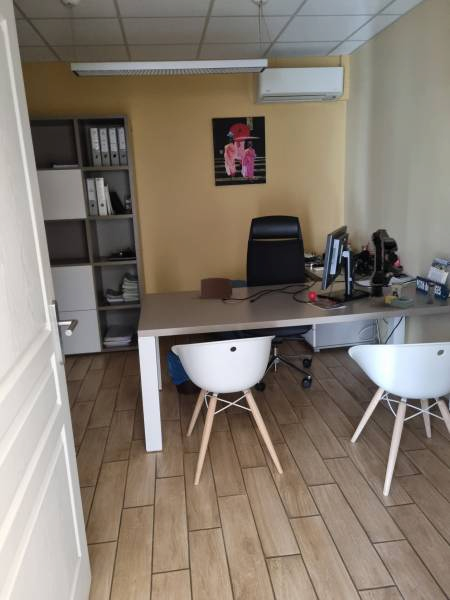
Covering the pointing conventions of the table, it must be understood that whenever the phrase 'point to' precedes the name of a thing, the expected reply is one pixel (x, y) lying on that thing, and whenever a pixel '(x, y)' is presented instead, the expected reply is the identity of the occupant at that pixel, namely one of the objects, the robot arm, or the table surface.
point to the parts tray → (402, 302)
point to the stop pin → (431, 293)
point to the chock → (389, 299)
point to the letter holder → (216, 288)
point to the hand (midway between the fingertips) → (386, 286)
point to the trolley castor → (398, 293)
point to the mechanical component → (401, 285)
